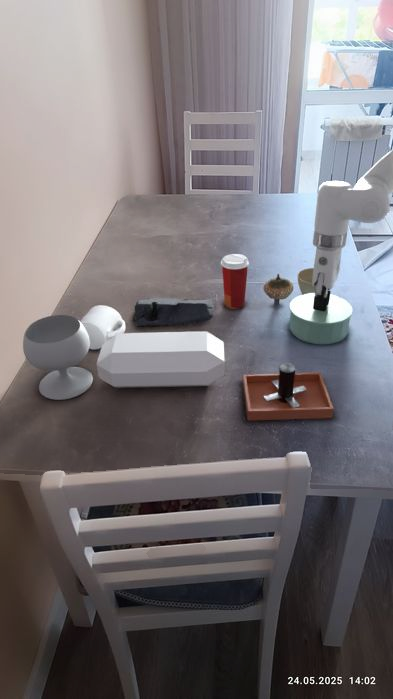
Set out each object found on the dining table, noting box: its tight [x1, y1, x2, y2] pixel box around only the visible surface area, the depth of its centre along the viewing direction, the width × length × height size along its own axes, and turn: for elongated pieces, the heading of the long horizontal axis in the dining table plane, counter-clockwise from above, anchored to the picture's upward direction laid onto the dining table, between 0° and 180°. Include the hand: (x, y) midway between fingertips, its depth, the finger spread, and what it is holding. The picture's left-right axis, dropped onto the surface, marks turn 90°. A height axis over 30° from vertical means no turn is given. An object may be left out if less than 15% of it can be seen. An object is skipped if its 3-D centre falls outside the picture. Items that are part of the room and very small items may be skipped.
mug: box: [80, 304, 126, 350], centre depth 123 cm, size 12×9×8 cm
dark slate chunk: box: [134, 297, 215, 327], centre depth 134 cm, size 15×22×5 cm
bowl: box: [289, 312, 351, 345], centre depth 124 cm, size 15×15×6 cm
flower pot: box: [296, 267, 316, 295], centre depth 138 cm, size 10×10×7 cm
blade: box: [263, 363, 307, 408], centre depth 101 cm, size 10×10×8 cm
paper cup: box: [220, 253, 250, 310], centre depth 135 cm, size 8×8×14 cm
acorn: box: [262, 273, 294, 307], centre depth 134 cm, size 8×8×10 cm
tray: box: [242, 372, 335, 421], centre depth 103 cm, size 17×12×2 cm
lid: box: [289, 288, 354, 325], centre depth 121 cm, size 16×16×6 cm
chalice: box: [22, 314, 94, 401], centre depth 107 cm, size 14×14×15 cm
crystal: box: [95, 330, 226, 389], centre depth 109 cm, size 14×10×28 cm
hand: (320, 306), depth 122 cm, fingers closed on lid, 2 cm apart
